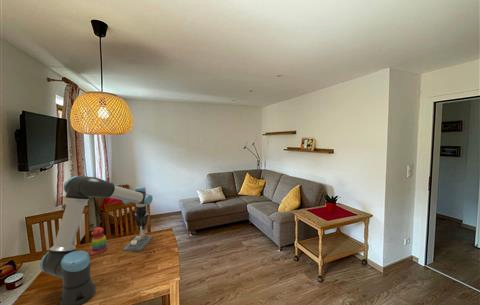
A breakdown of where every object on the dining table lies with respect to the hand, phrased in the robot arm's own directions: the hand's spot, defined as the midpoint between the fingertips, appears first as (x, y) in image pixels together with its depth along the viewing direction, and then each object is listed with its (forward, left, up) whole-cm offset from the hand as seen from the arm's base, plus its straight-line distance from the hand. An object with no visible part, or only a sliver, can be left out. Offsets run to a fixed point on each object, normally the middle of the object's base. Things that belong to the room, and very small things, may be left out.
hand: (142, 233), depth 171 cm
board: (-6, 0, -6) cm, 8 cm away
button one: (-13, 0, -3) cm, 13 cm away
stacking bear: (-16, +25, -6) cm, 30 cm away
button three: (0, 0, -4) cm, 4 cm away
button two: (-6, 0, -3) cm, 7 cm away
